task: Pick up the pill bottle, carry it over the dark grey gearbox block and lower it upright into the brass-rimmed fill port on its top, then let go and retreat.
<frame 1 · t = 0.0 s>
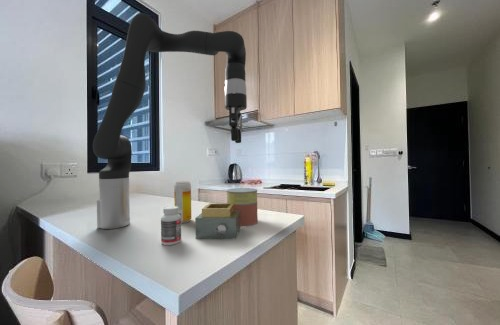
hand: (236, 141, 74), 29 cm above the countertop, tool pointing down, fingers open, 8 cm apart
beer can: (183, 221, 82), on the countertop
pill bottle: (171, 242, 60), on the countertop
canned food: (242, 222, 79), on the countertop
gearbox: (219, 232, 67), on the countertop
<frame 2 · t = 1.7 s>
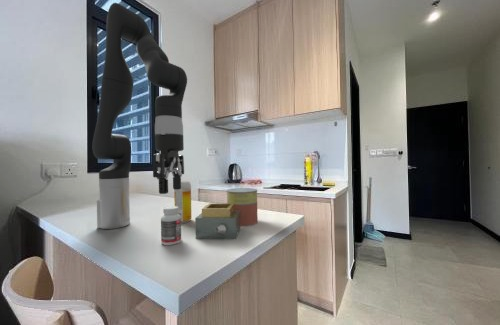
hand: (170, 191, 60), 14 cm above the countertop, tool pointing down, fingers open, 8 cm apart
nothing on the countertop moved.
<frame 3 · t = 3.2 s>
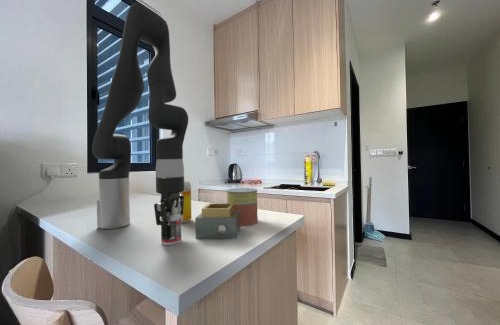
hand: (171, 234, 60), 2 cm above the countertop, tool pointing down, fingers closed on pill bottle, 5 cm apart
pill bottle: (171, 242, 60), on the countertop, touching gripper
everything else where it was.
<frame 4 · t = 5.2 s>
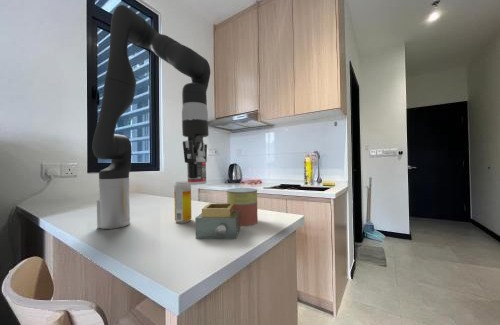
hand: (197, 177, 63), 18 cm above the countertop, tool pointing down, fingers closed on pill bottle, 5 cm apart
pill bottle: (197, 184, 63), point 16 cm above the countertop, touching gripper
everything else where it was.
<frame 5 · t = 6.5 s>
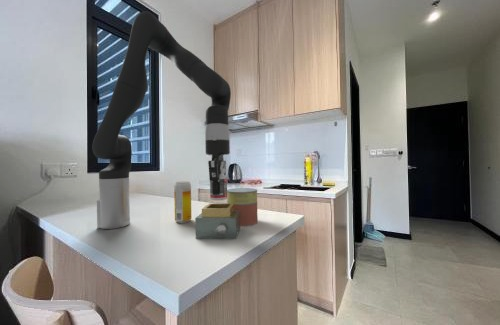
hand: (218, 192, 67), 13 cm above the countertop, tool pointing down, fingers closed on pill bottle, 5 cm apart
pill bottle: (218, 199, 68), point 10 cm above the countertop, touching gripper
everything else where it was.
when the fingers open (9 cm above the countertop, at t = 7.5 s): pill bottle drops 4 cm, point 4 cm above the countertop.
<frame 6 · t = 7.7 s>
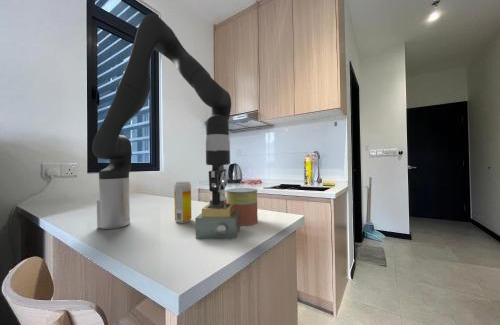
hand: (218, 202, 68), 10 cm above the countertop, tool pointing down, fingers open, 6 cm apart
pill bottle: (218, 221, 68), point 4 cm above the countertop, touching gripper
everything else where it was.
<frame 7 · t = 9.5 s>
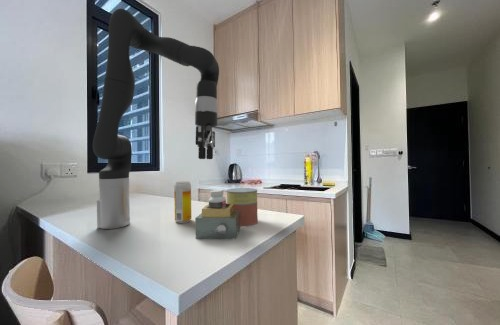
hand: (206, 159, 74), 24 cm above the countertop, tool pointing down, fingers open, 8 cm apart
pill bottle: (218, 221, 68), point 3 cm above the countertop, touching gearbox
everything else where it was.
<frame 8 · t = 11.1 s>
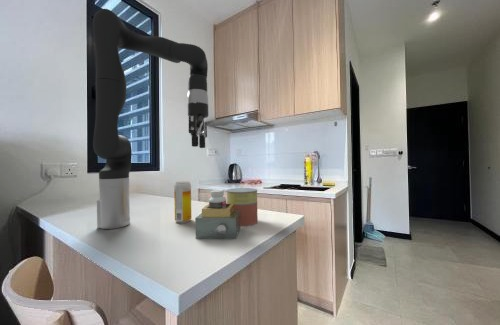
hand: (198, 147, 80), 28 cm above the countertop, tool pointing down, fingers open, 8 cm apart
nothing on the countertop moved.
at the end: pill bottle 0.4 cm off-centre on the gearbox, point 3.4 cm above the gearbox's base; pill bottle tilted 1°; the gripper is holding nothing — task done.
